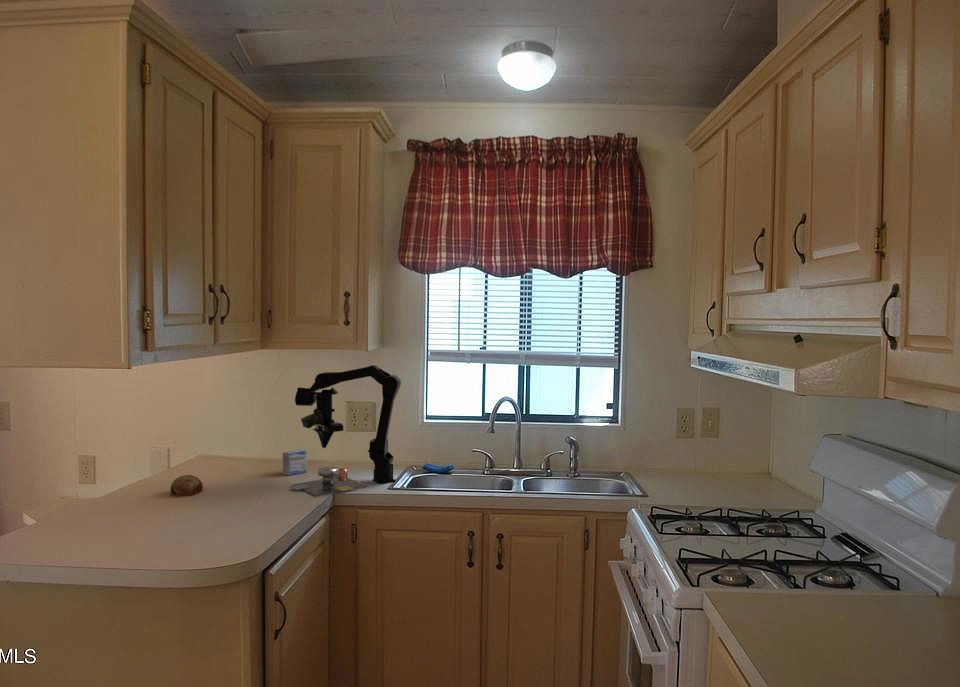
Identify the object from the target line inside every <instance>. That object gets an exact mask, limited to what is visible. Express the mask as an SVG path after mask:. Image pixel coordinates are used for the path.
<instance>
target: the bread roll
mask: <svg viewBox="0 0 960 687" xmlns="http://www.w3.org/2000/svg"><path fill="white" fill-rule="evenodd" d="M203 488H204V485H203V482H202V481H201V480H200V478H199V477H197V476H195V475H192V474H183V475H180V476H178V477H176V478H175V479H174V480H173V481H172V483H171V484H170V496H172V495H174V496H173V497H180V496H186V497H193V496H195V494H196V495H198V493H199V494H200V492H201V493H202V492H203ZM192 495H193V496H192Z"/></svg>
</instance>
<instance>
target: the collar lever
mask: <svg viewBox="0 0 960 687" xmlns="http://www.w3.org/2000/svg"><path fill="white" fill-rule="evenodd" d="M317 471H318V472H317V475H318V476H320V477H323V476H324V477H329V476H332V477H334V478H337V479H339V481H347V478H348V468H347V467H340V468H339V467H338V466H337V467H336V466H323V467H319V468H318V470H317Z"/></svg>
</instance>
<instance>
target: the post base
mask: <svg viewBox="0 0 960 687" xmlns="http://www.w3.org/2000/svg"><path fill="white" fill-rule="evenodd" d="M289 488H291V489H292V490H295V491H300V490H301V491H302V492H304V493H307V494H309V495H312V496H313V497H315V498H317V497H321V496H323V497H324V496H327V495H332V494H338V493H342V492H347V491H353V490H357V489H359V490H360V489H363V488H368V484H365V483H363V482H359V481H357V480H354V479H352V478H349V477H347V481H339V479H337V478H334V477H332V476H329V477H324V476H322V479H316V480H315V479H314V480H310V481H303V482H299V483H293V484H291V485H290V486H289Z"/></svg>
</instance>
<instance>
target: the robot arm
mask: <svg viewBox="0 0 960 687" xmlns="http://www.w3.org/2000/svg"><path fill="white" fill-rule="evenodd" d="M368 377H370V378H372V379H373V380H374V381H376V382H377V383H378V384H380V385H381V393H382V402H381V403H382V404H381V409H380V414H379V419H378V425H377V430H376V436H375V438H372V439H371V440H370V441H369V447H368V451H367V453H368V455H369V458H370V460H371V461H373V464H374V469H373V478H372V480H371V481H372V482H375V483H377V484H381V485H383V484H387V483H392V482H393V483H394V482H396V479H394V464H393V461H394V458H395V456H393V454H391V452H390V451H389V440H388V435H389V429H390V424H391V418H392V413H393V408H394V402H395V400H396V398H397V395H398V392H399V391H400V387H401V385H402V384H401V383H402V381H401V379H400V378H399V377H398V376H397V375H396V374H395V375H394V374H390V373H389V372H387V371H386V370H383V369H382V368H380V367H378V366H377V365H375V364H372V365H369V366H365V367H360V368H355V369H350V370H345V371H325V372H321V373H318V374H317V375H316V376H315V378H314V382H313V384H312V385H311V386H310V387H297V391H296V393H295V397H294V402H295V403H294V404H295V406H297V407H298V406H299V407H304V406H305V407H312V406H314V404H316V408H314V409H313V413H310V414H308V415H307V416H304V417H302V418H300V421H301V424H302V426H303V428H306V429H311V428H312V431H315V433H317V435H318V438H319V441H320V445H321V448H322V449H326V448H327V446H328V444H329V442H330V439H331V438H332V436H333V435H334V433H337V432H343V431H344V429H345V428H344V427H345V426H344V424H343V423H341V422H338V421H337V422H335V419H333V413H334V412H335V408H333V395H337V394H338V393H339V392H338V391H337V390H336V389H335V387H332V386H335V385H337V384H340V383H343V382H349V381H352V380H353V381H354V380H358V379H362V378H368ZM330 387H331V388H330ZM327 388H329V389H327ZM320 390H321V391H320ZM313 427H314V428H313Z"/></svg>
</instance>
